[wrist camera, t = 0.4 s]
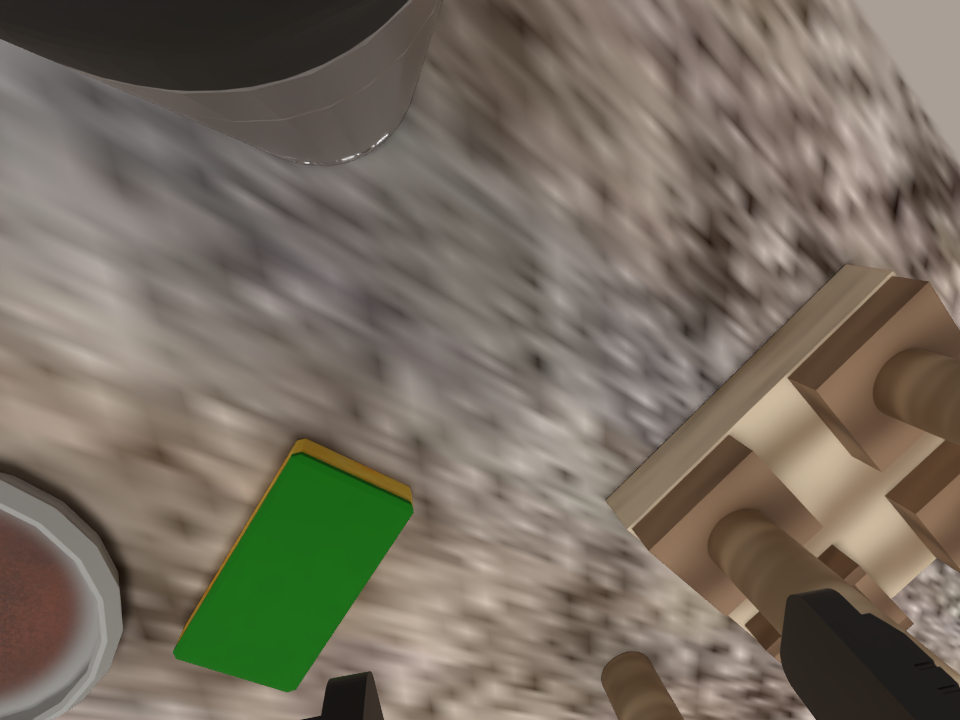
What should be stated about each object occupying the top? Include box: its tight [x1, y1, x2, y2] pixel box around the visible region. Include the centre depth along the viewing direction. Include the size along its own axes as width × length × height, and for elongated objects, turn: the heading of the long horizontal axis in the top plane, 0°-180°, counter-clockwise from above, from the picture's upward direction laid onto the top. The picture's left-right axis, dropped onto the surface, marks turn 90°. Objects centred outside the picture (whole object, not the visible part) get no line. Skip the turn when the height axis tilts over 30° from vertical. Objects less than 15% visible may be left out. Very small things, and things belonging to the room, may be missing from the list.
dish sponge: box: [173, 438, 414, 692], centre depth 29 cm, size 7×14×2 cm, turn 146°
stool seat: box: [606, 264, 960, 687], centre depth 26 cm, size 20×20×19 cm
